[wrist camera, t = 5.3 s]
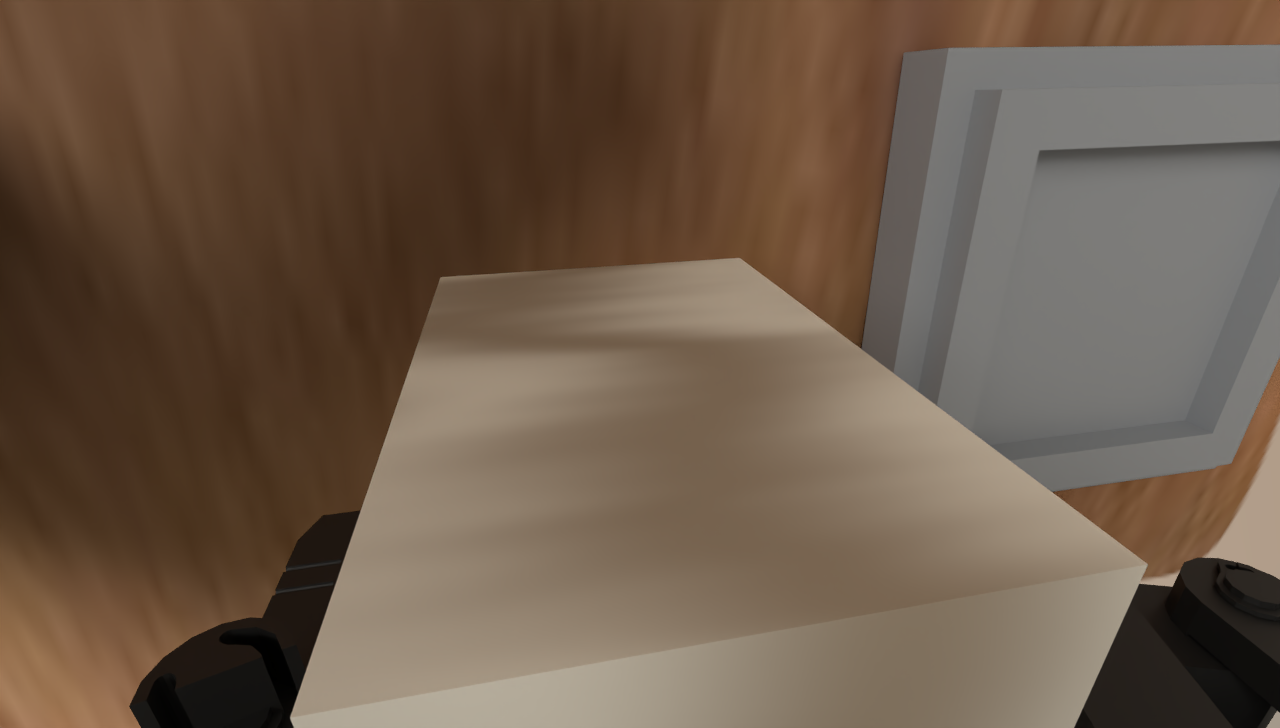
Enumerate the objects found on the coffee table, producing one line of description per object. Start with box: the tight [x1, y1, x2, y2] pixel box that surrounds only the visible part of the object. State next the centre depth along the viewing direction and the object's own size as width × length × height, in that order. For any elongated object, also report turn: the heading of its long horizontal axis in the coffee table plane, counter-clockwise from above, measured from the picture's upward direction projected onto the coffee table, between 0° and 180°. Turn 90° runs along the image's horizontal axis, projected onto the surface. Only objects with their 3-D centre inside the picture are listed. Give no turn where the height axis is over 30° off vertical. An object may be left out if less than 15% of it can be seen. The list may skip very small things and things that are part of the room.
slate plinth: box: [862, 45, 1280, 492], centre depth 20 cm, size 15×15×3 cm
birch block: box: [290, 258, 1148, 728], centre depth 9 cm, size 6×6×9 cm
